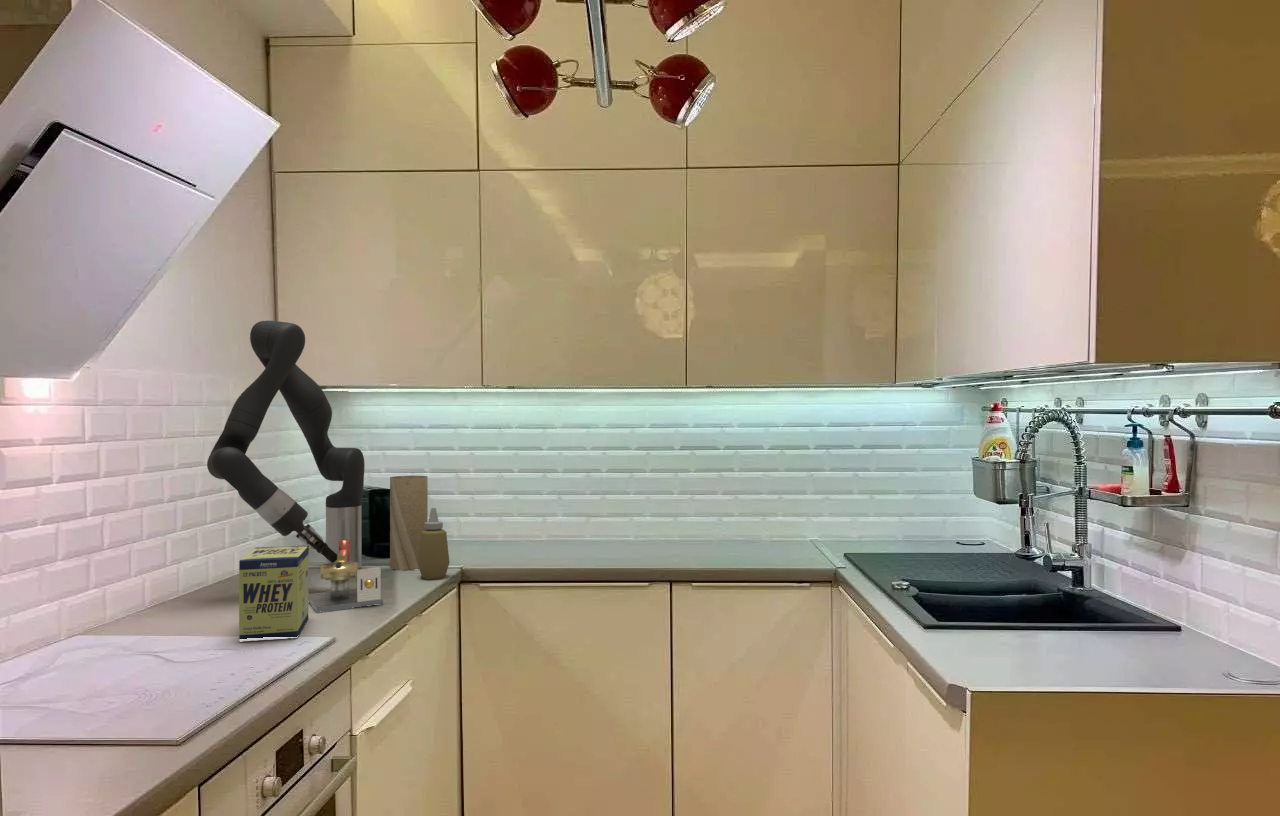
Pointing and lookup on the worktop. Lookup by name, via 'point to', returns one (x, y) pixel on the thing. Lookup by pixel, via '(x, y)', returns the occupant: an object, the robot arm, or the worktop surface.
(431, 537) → the squeeze bottle
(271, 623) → the protein box
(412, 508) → the tube
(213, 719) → the worktop surface
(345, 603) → the stand
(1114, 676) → the worktop surface
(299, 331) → the robot arm
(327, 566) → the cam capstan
